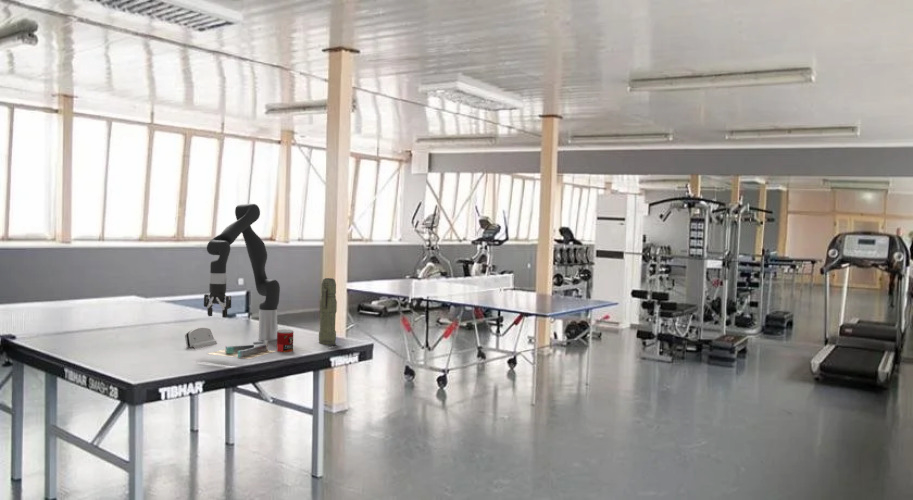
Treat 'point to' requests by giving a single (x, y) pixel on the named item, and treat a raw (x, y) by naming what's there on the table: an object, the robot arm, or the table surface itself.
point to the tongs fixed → (253, 350)
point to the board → (222, 353)
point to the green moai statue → (328, 312)
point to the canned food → (285, 340)
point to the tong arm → (239, 348)
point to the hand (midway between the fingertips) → (217, 316)
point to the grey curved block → (199, 338)
